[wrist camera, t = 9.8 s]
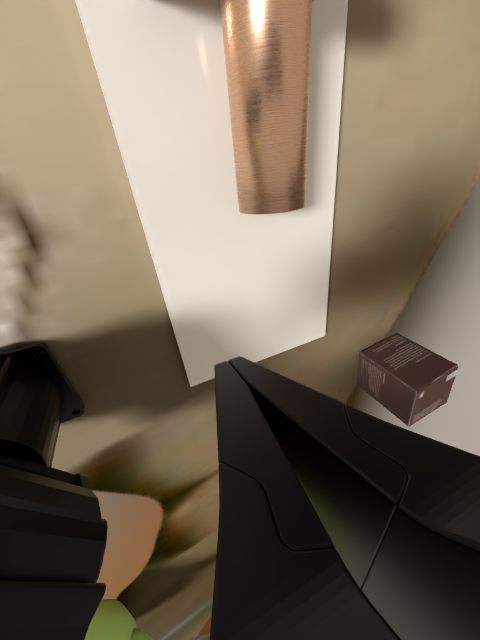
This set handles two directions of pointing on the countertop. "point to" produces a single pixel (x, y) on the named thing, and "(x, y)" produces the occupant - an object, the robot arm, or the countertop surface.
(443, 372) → the box
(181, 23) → the slab
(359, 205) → the countertop surface
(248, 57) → the tube
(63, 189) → the countertop surface
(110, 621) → the teapot
